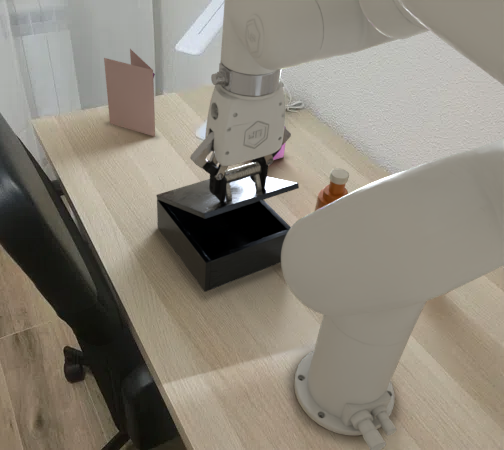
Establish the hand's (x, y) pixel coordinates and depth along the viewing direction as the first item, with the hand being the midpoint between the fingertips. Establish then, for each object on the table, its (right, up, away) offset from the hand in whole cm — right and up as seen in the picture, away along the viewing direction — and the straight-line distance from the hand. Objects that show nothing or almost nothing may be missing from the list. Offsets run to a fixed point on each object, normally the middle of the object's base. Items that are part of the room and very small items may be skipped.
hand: (237, 188), depth 80 cm
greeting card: (-21, +16, +40) cm, 47 cm away
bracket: (+6, +11, +36) cm, 38 cm away
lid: (-2, -1, +5) cm, 5 cm away
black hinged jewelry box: (-2, -9, +11) cm, 14 cm away
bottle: (+16, -8, +13) cm, 22 cm away
